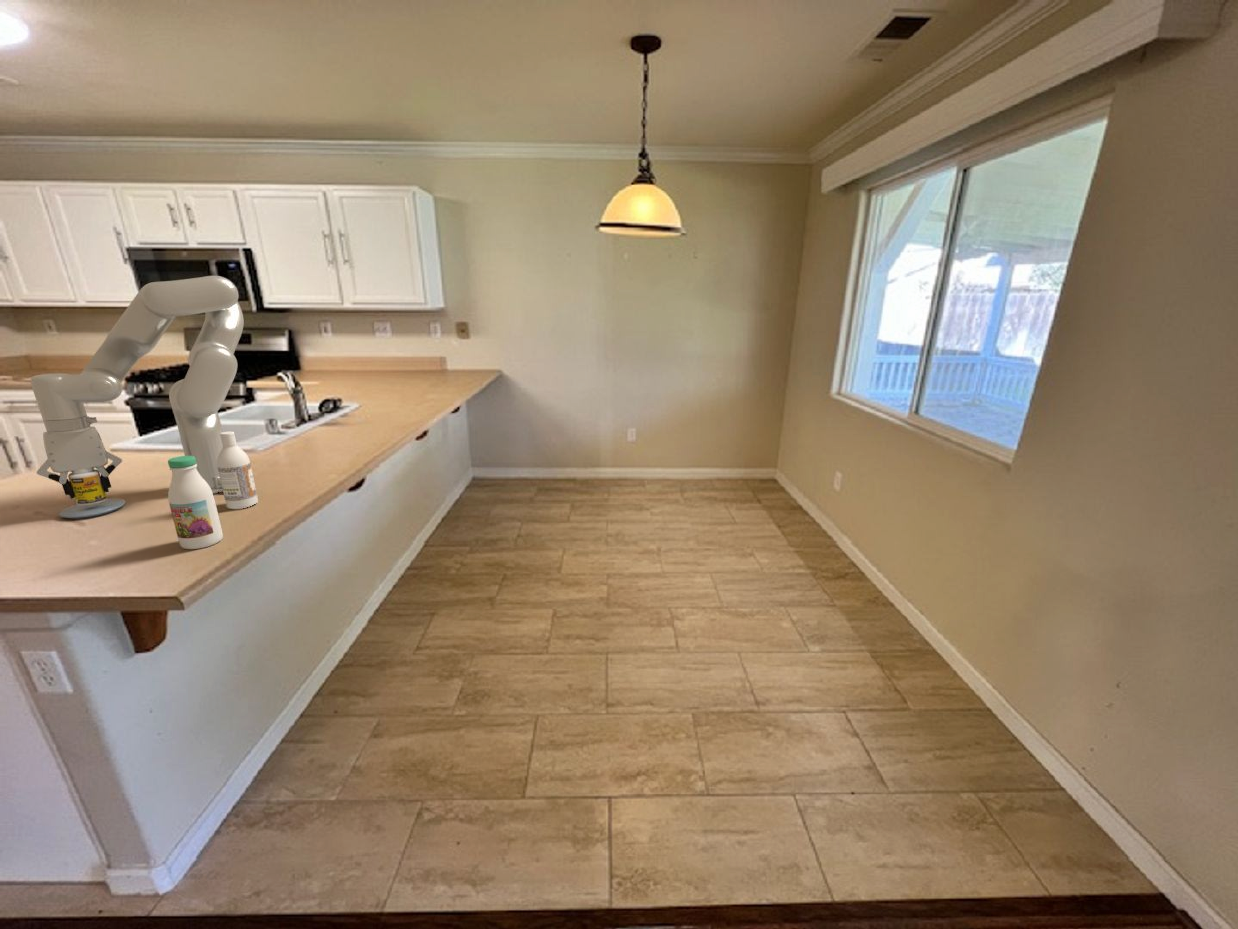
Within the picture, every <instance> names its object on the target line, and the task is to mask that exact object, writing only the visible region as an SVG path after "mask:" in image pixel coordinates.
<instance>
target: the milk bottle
mask: <svg viewBox="0 0 1238 929" xmlns="http://www.w3.org/2000/svg"><path fill="white" fill-rule="evenodd" d="M167 465H168V467H169V470H170V471H171V475H172V476H171V482H170V484H169V487H168V492H167V497H168V498H167V499H168V504H169V508H170V512H171V516H172V520H173V525H174V528H175V532H176V536H177V538H178V543H179V546H180V548H182V549H185V550H198V549H203V548H206V547H211V546H213V545H216V544H217V543H219V541H220V540H221V541H222V540H223V537H224V534H223V530H222V526H221V521H220V517H219V513H218V512H219V511H218V509H217V504H216V501H215V497H214V494H213V493H212V490H211V488H210V486H209V485H208V483H207V482H206V481H205V480H204V479H203V478H202V477H201V475H200V474H199V473H198V471H197V469H196V466H197V464H196V459H195V457H194V456H185V455H181V456H175V457H172V458H170V459H168V460H167ZM221 541H220V542H221Z"/></svg>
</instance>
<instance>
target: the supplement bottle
mask: <svg viewBox="0 0 1238 929" xmlns="http://www.w3.org/2000/svg"><path fill="white" fill-rule="evenodd" d="M67 479H68V480H69V481H70V484H71V487H72V490H73V493H74V496H75V498H74V499H75V503H76V504H78V505H80V506H89V505H95V504H99V503H102V502H104V501H106V499H108V497H107V494H106V493H107V492H105V491H104V488H103V484H102V481H101V473H100V472H99V471H98V470H97V469H96V468H90V469H79V470H76V471H71V473H68V475H67Z"/></svg>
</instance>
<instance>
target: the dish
mask: <svg viewBox="0 0 1238 929" xmlns="http://www.w3.org/2000/svg"><path fill="white" fill-rule="evenodd" d="M125 505H126V500H124V499H123V498H115V497H114V498H107V499H106V501H104V502H102V503H99V504H95V505H89V506H80V505H78V504H77V503H76V504H74V505H70V506H67V507H65V508H63V509H62V510H60V511H59V513H58V514H59V516H60V517H61V518H65V519H66V518H67V519H77V520H78V519H79V520H80V519H90V518H95V517H99V516H103V515H107V514H110V513H113V512H115V511H117V510H118V509H121V508H122V507H124V506H125Z"/></svg>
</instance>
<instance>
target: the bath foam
mask: <svg viewBox="0 0 1238 929" xmlns="http://www.w3.org/2000/svg"><path fill="white" fill-rule="evenodd" d="M220 436H221V440H222V445H223V448H222V450H221V452H220V454H219V456H218V459H217V467H218V472H219V476H220V480H221V485H222V489H223V492H222V493H223V497H224V501H225V505H226V508H228V509H230V510H242V509H243V508H244V509H247V507H248V508H251V507H253V506H252V505H254V504H256V503H257V504H258V503H259V499H258V497H259V496H258V492H257V489H256V484H255V477H254V475H253V469H252V464H251V460H250V458H249V456H248V454H247V453H246V452H245V451H244V449H242V448H241V447H239V446H238V445H237V444H238V443H237V440H236V436H235V432H234V431H223V432H222V433H220ZM257 504H256V505H257ZM250 506H251V507H250ZM254 506H255V505H254Z"/></svg>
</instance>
